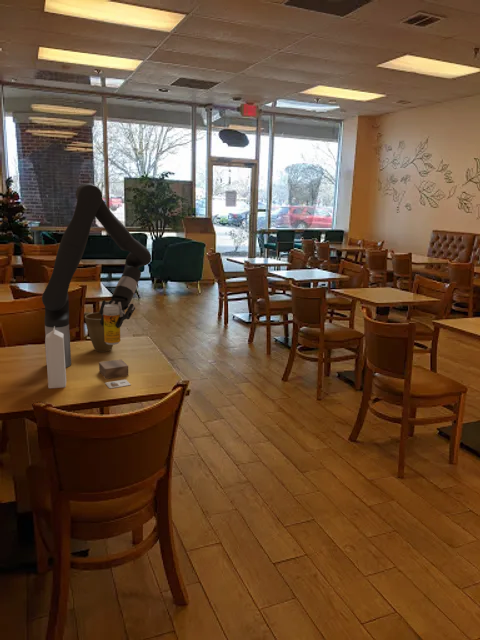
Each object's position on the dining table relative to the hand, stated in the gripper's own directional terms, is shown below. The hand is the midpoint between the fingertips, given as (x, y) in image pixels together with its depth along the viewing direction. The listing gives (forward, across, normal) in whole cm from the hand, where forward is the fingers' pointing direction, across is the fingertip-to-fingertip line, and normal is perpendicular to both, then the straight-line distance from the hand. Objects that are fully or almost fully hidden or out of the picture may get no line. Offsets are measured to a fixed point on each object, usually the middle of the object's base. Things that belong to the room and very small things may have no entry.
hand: (109, 325), depth 194 cm
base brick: (+13, 0, +15) cm, 20 cm away
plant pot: (-5, -21, +34) cm, 40 cm away
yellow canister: (+4, 0, +6) cm, 8 cm away
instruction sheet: (+20, +8, +9) cm, 23 cm away
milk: (+26, -12, +2) cm, 29 cm away
